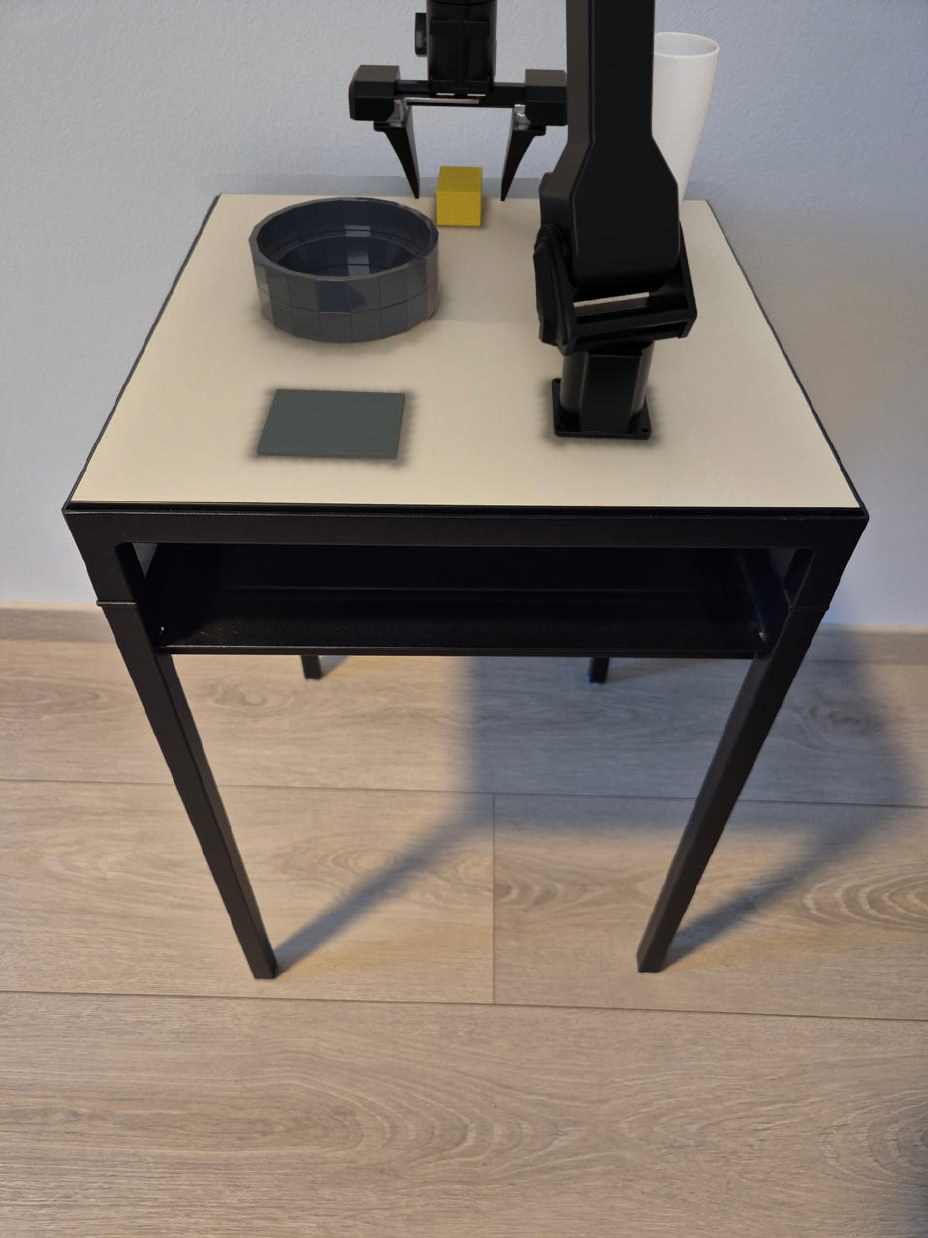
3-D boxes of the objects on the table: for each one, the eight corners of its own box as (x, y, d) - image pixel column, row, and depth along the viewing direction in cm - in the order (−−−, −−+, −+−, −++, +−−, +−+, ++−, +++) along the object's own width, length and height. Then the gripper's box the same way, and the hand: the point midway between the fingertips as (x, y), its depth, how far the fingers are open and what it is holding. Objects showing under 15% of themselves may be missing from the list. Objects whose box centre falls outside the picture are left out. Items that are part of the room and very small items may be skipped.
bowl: (433, 353, 64) (432, 282, 60) (244, 347, 65) (230, 276, 61) (443, 265, 74) (443, 199, 70) (278, 260, 74) (269, 193, 70)
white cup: (681, 256, 76) (721, 59, 64) (604, 248, 76) (630, 52, 65) (683, 223, 80) (721, 34, 69) (610, 216, 81) (636, 28, 70)
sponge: (480, 226, 79) (480, 192, 77) (436, 225, 79) (436, 191, 77) (481, 199, 83) (482, 166, 81) (440, 198, 83) (440, 165, 81)
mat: (395, 459, 56) (395, 454, 55) (257, 454, 56) (256, 449, 56) (405, 397, 60) (404, 392, 60) (277, 393, 61) (276, 388, 60)
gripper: (574, -26, 74) (557, 167, 86) (357, -31, 74) (369, 162, 86) (581, 9, 67) (561, 215, 78) (339, 3, 67) (356, 209, 78)
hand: (460, 198), depth 80 cm, fingers open, 8 cm apart
